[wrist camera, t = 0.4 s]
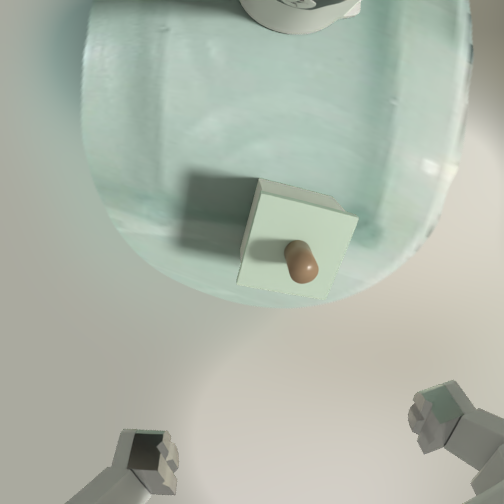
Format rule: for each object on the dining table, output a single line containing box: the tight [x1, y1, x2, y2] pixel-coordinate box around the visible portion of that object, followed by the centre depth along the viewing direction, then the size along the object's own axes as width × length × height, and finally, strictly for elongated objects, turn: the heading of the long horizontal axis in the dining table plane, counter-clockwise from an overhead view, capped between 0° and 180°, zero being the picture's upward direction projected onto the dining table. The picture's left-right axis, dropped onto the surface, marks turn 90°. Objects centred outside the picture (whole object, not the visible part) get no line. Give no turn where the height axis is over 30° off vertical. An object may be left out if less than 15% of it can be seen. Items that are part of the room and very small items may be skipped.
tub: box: [240, 178, 346, 261], centre depth 42 cm, size 11×11×8 cm
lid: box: [237, 191, 359, 300], centre depth 37 cm, size 12×12×7 cm
